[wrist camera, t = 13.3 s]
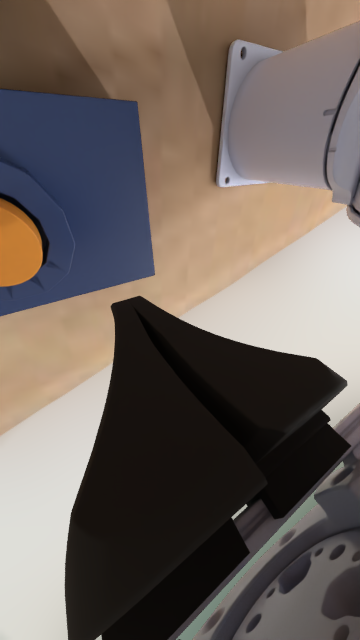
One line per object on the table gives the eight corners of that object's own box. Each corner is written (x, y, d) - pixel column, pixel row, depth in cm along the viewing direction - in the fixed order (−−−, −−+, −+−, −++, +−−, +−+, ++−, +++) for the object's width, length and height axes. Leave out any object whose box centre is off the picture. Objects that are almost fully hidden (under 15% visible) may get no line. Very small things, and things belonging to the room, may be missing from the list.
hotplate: (119, 110, 12) (151, 94, 9) (141, 261, 19) (164, 284, 15) (-217, 85, 7) (-422, 31, 4) (-28, 300, 14) (-47, 346, 11)
